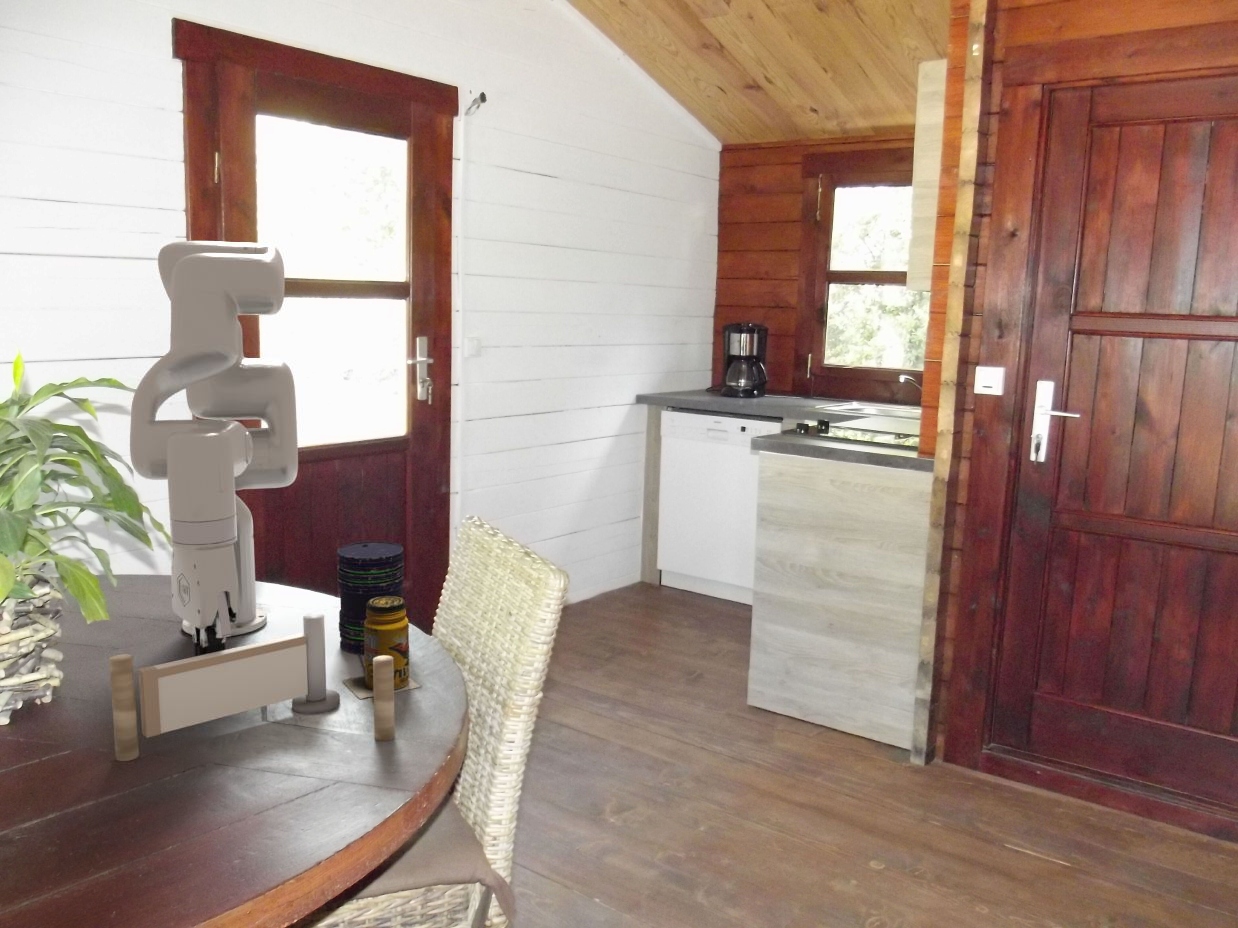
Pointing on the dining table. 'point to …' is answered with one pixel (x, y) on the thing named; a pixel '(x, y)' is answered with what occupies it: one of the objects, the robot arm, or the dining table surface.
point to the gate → (234, 680)
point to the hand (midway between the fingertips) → (210, 672)
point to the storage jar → (365, 585)
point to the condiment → (384, 644)
